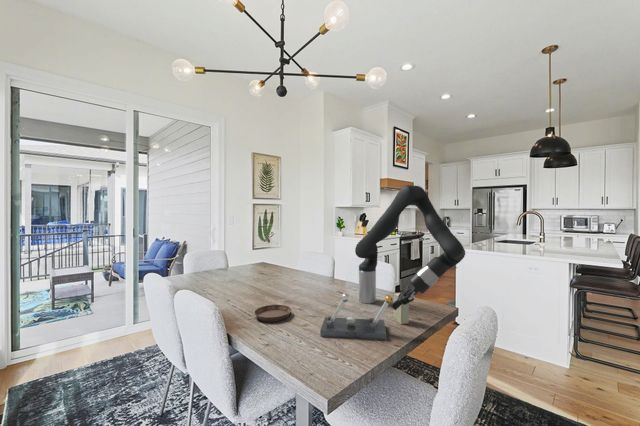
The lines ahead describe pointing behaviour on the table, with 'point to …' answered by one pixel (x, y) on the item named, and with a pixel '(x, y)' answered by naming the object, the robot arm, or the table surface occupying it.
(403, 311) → the skincare box
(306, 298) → the table surface
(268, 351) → the table surface
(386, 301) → the lever handle
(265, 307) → the plant saucer
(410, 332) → the table surface
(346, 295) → the white lever
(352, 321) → the push button
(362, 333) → the switch panel
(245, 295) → the table surface
